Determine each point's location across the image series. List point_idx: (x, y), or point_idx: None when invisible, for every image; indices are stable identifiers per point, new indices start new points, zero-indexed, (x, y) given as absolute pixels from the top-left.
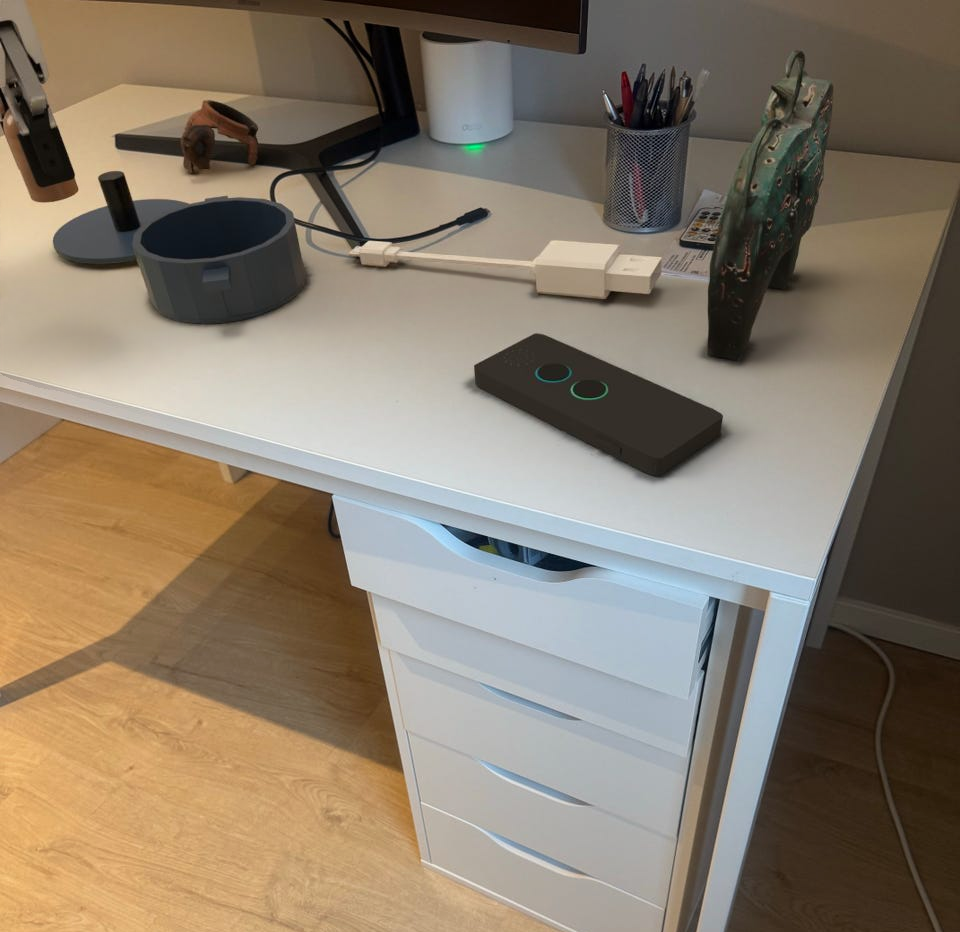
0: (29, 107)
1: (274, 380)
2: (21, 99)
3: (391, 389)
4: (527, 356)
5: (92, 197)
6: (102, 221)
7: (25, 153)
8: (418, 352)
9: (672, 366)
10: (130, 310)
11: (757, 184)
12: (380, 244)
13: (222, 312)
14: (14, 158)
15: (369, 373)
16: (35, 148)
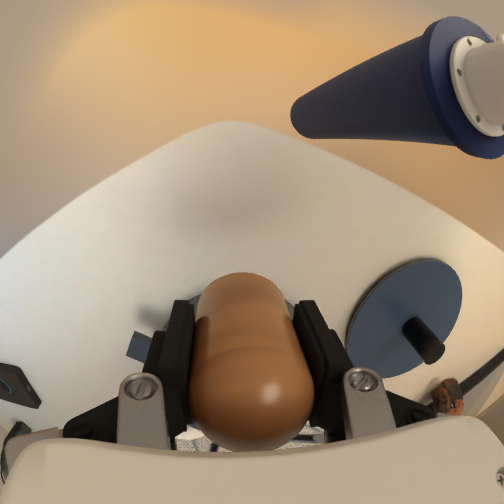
0: (50, 434)
1: (56, 301)
2: (341, 436)
3: (24, 340)
4: (18, 391)
5: (481, 315)
6: (438, 312)
7: (165, 339)
8: (57, 374)
9: (17, 412)
10: (265, 267)
11: (4, 475)
12: (191, 436)
13: (166, 327)
14: (317, 312)
15: (43, 344)
16: (148, 363)
